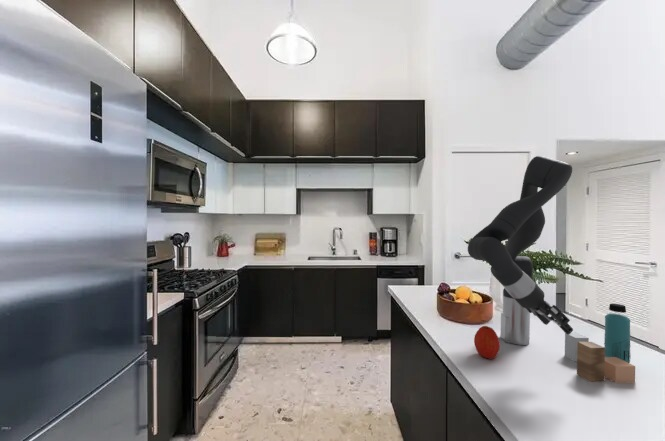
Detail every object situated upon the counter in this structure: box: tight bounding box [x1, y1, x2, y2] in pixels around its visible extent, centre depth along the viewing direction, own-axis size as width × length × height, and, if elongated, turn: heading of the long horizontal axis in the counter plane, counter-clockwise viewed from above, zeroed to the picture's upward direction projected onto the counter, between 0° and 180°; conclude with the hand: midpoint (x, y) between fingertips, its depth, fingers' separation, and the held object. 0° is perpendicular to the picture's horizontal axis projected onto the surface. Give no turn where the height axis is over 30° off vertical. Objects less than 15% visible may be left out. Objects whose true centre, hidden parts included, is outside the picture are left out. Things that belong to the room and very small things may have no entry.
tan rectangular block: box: [576, 341, 605, 383], centre depth 94 cm, size 4×4×10 cm
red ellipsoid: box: [473, 325, 501, 360], centre depth 107 cm, size 8×8×11 cm
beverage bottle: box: [603, 303, 632, 364], centre depth 102 cm, size 6×7×20 cm
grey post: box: [564, 332, 590, 363], centre depth 107 cm, size 4×4×8 cm
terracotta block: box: [604, 357, 636, 384], centre depth 94 cm, size 6×6×5 cm
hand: (558, 327), depth 93 cm, fingers open, 8 cm apart
